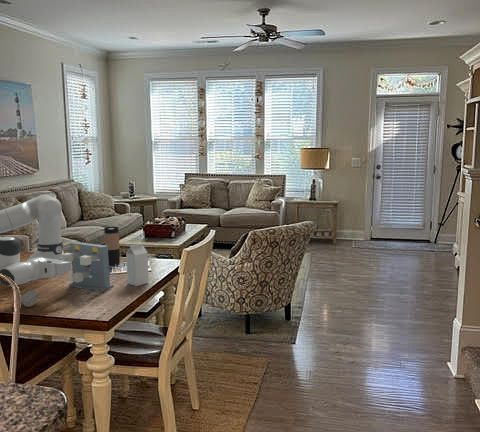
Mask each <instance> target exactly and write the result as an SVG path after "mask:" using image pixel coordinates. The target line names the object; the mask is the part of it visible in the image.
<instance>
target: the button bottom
mask: <svg viewBox="0 0 480 432" xmlns="http://www.w3.org/2000/svg"><path fill="white" fill-rule="evenodd" d="M89 276H91V270H88V271H85V272H82V273H79V272H76V273H73V274H72V273H71V281H72V282H78V283H79V282H81V281H83V279H84V278H86V277H89ZM72 282H71V283H72Z"/></svg>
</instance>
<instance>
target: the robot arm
mask: <svg viewBox="0 0 480 432" xmlns="http://www.w3.org/2000/svg"><path fill="white" fill-rule="evenodd" d="M62 209H63V208H62V203H61V202H60V200H59V199H58V198H56V197H54V196H53V195H50V194H41V195H38V196H36V197H34V198H31V199H29V200H26V201H24V202H21V203H18V204H16V205H14V206H9V207H7V208H5V209H1V210H0V234H3V233H8V232H10V231H13V230H16V229H19V228H23V227H25V226H28V225H30V224H31V223H34V222H35V221H37V220H38V224H37V225H38V227H37V233H38V234H37V235H38V243H37V244H35V248H36V251H35V252H33V253H32V254H31V255H30V256H29V257H28V259H27V260H26V261H21V247H22V243H21V241H20V240H19V239H18V238H16V237H14V236H13V237H12V236H3V235H0V273H2V274H3V275H6V276H8V277H10V278H11V279H12V280H13V281H14V282H15V283H16V284H17V285H16V286H20V285H22V284H27V283H29V282H30V281H36V280H40V279H45V278H46V279H54V278H56V276H57V275H58V276H60V275H63V274H65V273H67V272H69V271H72V262H68V261H66V259H62V254H64V253H65V252H64V250H63V249H64V244H63V241H62V228H61V227H62V226H61V225H62V224H61V223H62V211H63V210H62ZM0 284H2V285H3V286H5V287H12V286H11V285H10V284H9V283H8V282H7V281H5V280H3V279H2V278H0Z"/></svg>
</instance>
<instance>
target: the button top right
mask: <svg viewBox="0 0 480 432" xmlns="http://www.w3.org/2000/svg"><path fill="white" fill-rule="evenodd" d="M95 260H100V258H99V253H97V254H94V255H91V256H87V255H84V256H81V257H80V265H85V266H87V265H90V264H91V262H92V261H95Z"/></svg>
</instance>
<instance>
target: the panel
mask: <svg viewBox="0 0 480 432" xmlns="http://www.w3.org/2000/svg"><path fill="white" fill-rule="evenodd" d="M78 251H81V256H84V255H87V256H91V255H94V254H97V253H98V254H99V258H100V259H99V260H95V261H92V262H91V264H90V265H87V266H85V265H80V257H78V258H75V259H73V261H72V262H71V272H72V273H71V275H72V274H73V273H76V272H79V273H82V272H85V271H88V270H91V276H89V277H86V278H84V279H83V281H81V282H79V283H78V282H70V283H68V286H69V287H75V288H80V289H85V290H90V291H96V292H104V291H107V290H109V289H112V288H114V287H115V285H114V284H112V283H110V281H111V280H110V265H109V260H108V246H105V244H97V243H95V244H94V243H88V242H81V241H80V242H79V241H73V242H70V253H74V252H78Z"/></svg>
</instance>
